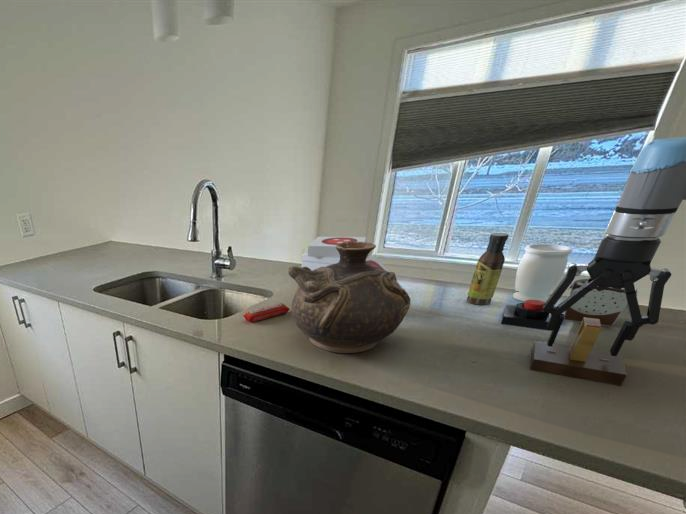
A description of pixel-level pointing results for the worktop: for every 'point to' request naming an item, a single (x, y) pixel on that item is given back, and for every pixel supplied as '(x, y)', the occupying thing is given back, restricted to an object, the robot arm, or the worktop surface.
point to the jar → (540, 271)
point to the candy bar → (266, 312)
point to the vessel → (348, 301)
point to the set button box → (525, 317)
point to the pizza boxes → (332, 253)
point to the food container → (597, 304)
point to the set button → (534, 304)
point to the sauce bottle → (488, 271)
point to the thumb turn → (585, 339)
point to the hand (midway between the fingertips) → (580, 348)
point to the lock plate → (577, 363)
